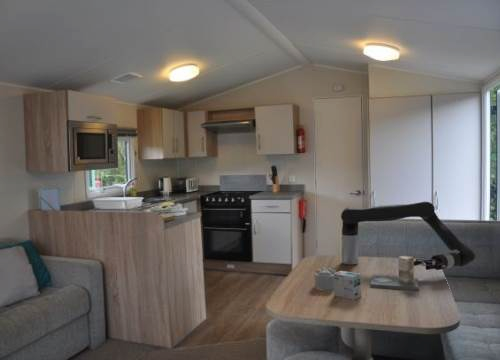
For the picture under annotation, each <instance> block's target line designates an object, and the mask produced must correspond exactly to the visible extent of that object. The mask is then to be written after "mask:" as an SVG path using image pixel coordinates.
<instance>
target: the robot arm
mask: <svg viewBox="0 0 500 360" xmlns="http://www.w3.org/2000/svg"><path fill="white" fill-rule="evenodd" d="M435 209H436V208H435V206H434V204H433V203H431V202H429V201H421V202H414V203H407V204H405V203H404V204H401V203H400V204H383V205H382V204H381V205H376V206H372V207H368V208H354V207H352V206H348V207H345V208H344V209H343V210H342V212H341V214H340V218H341V221H342V227H341V238H342V239H341V241H342V245H341V263H342V264H345V265H357V264H359V223H364V222H390V221H397V220H401V219H405V218H406V219H407V218H411V217H412V218H420V219H422V220H423V221H424V222H425V223H426V224H428V225H429V227H431V228H432V230H433V231H434V232H435V233H436V234H437V237H438V238H439V239H440V240H441V242H443V244H444V245H445V246H446V247H447V248H448V249H449V251H454V250H455V251H456V250H457V251H458V252H449V253H448V252H447V253H440V254H439V253H438V254H434V255H432V256H431V257H430V258H425V257H421V258H416V259H415V260H414V267H416V266H422V267H425V270H427V271H429V270H436V271H439V270H444V269H449V268H452V267H465V266H467V265H468V264H470V263H472V262H474V260H475V259H476V255H475V254H476V253H474V251H473V249H471V248H470V247H469V246H467V245H465V244H464V243H463V242H462V241H460V239H458V237H457V235H456V234H454V233H453V231H451V230H450V228H449V227H447V225H445V224H444V223H443V222H442V220H441V219H440V218H439V217H438V215H437V213H436V212H435V211H436V210H435Z"/></svg>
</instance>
